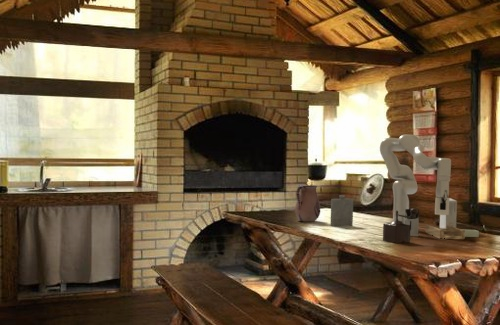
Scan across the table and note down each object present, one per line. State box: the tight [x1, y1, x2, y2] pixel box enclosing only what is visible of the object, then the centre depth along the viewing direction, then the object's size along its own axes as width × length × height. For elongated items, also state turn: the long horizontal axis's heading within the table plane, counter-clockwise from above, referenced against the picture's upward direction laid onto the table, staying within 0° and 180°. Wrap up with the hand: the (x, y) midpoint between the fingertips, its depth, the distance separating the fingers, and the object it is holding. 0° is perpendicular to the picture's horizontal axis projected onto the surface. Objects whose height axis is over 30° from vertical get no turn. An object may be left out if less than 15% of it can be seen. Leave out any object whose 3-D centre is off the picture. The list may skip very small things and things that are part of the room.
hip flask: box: [329, 194, 354, 227], centre depth 371 cm, size 16×4×20 cm, turn 110°
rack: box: [425, 224, 466, 240], centre depth 334 cm, size 14×26×5 cm, turn 0°
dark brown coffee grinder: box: [382, 208, 418, 244], centre depth 304 cm, size 16×11×18 cm
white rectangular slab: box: [434, 196, 450, 216], centre depth 339 cm, size 8×2×10 cm, turn 90°
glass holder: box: [402, 208, 420, 237], centre depth 331 cm, size 9×14×15 cm, turn 131°
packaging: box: [439, 197, 458, 228], centre depth 364 cm, size 30×6×20 cm, turn 168°
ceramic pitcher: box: [294, 184, 321, 223], centre depth 391 cm, size 18×21×25 cm
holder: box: [462, 228, 480, 238], centre depth 337 cm, size 12×8×4 cm, turn 90°
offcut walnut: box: [443, 230, 452, 235], centre depth 329 cm, size 4×4×2 cm
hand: (441, 209), depth 339 cm, fingers closed on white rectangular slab, 2 cm apart
